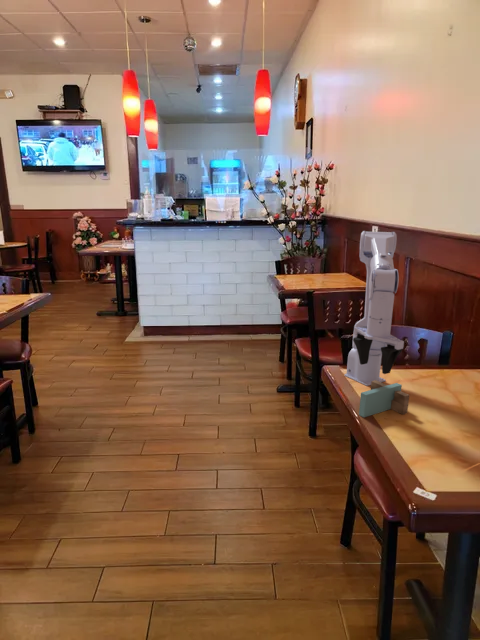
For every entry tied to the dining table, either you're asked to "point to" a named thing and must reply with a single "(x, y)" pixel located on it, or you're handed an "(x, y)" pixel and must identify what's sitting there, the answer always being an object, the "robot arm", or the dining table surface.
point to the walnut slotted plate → (395, 398)
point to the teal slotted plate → (377, 399)
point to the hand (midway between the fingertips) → (374, 368)
